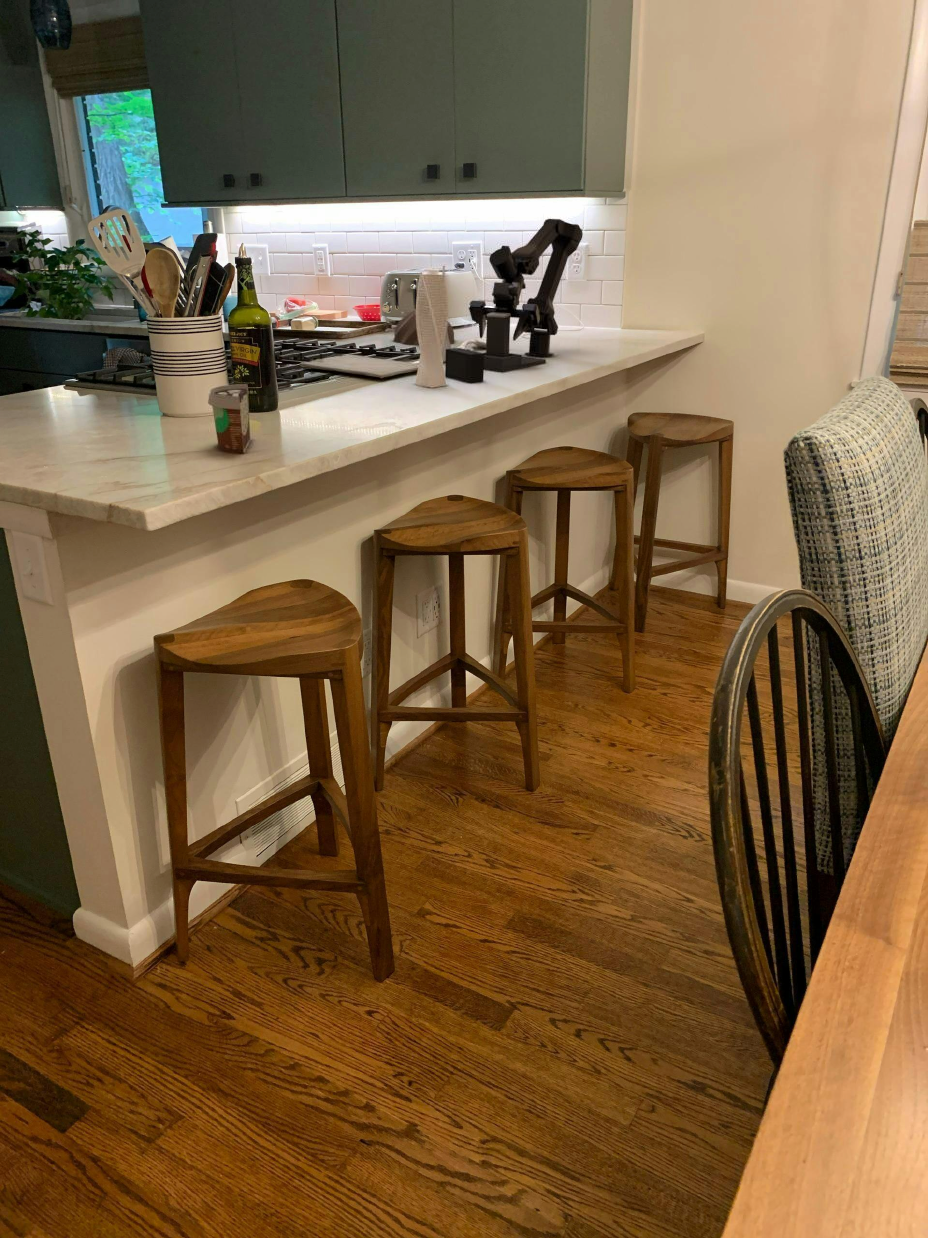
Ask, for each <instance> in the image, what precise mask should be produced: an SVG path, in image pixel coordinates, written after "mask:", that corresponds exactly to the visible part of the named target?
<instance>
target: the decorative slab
mask: <svg viewBox="0 0 928 1238" xmlns="http://www.w3.org/2000/svg"><path fill="white" fill-rule="evenodd" d="M299 366H300V367H301V368H304V369H305V368H306V369H314V370H322V371H333V372H340V373H346V374H353V375H362V376H367V377H376V378H380V379H384V378H388V377H393V376H396V375H401V374H406V373H410V372H411V373H412V372H415V371H418V366H419V363H416V362H415V363H414V362H408V361H407V362H406V361H402V360H401V361H400V360H393V359H384V358H376V357H370V356H369V357H368V356H363V355H356V354H351V353H350V354H345V355H341V356H331V357H324V358H316V359H314V360H313V361H303V362H300V363H299Z"/></svg>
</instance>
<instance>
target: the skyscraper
mask: <svg viewBox="0 0 928 1238" xmlns="http://www.w3.org/2000/svg"><path fill="white" fill-rule="evenodd" d="M418 277H419V278H418V284H417V292H416V299H415V310H416V327H417V335H418V342H419V345H418V346H419V351H420V354H419V360H418V364H419V366H418V370H416V371H417V372H416V378H415V385H416V386H421V387H426V388H431V389H432V388H438V387H444V386H445V387H446V386H447V379H446V377H445V366H444V362H443V359H442V353H441V351H442V348H443V344H444V339H445V334H446V329H447V321H449V320H448V319H449V318H448V317H449V301H448V289H447V281H446V264H445V263H444V262H443V263H442V272H440V269H436V268H426V272H423V269H420V270H419V276H418Z"/></svg>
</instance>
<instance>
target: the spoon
mask: <svg viewBox="0 0 928 1238" xmlns="http://www.w3.org/2000/svg"><path fill="white" fill-rule="evenodd" d="M468 345H475V346H477V347H481V348H485V349H486V337H482V338H478V339H476V338H472V339H467V340H465V341H464V342H463V343H461V344H460V345H459V346H458V347H457V348H462V349H466V347H467V346H468Z"/></svg>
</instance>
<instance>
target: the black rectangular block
mask: <svg viewBox="0 0 928 1238" xmlns="http://www.w3.org/2000/svg"><path fill="white" fill-rule="evenodd" d="M451 348H452V347H451ZM484 353H485V352H480V351H475V350H471V349H468V348H467V349H466V348H465V349H462V348H458V347H453V348H452V349H446V360H445V362H444V364H445V366H444V372H445V378H449V379H454V380H457V381H461V382H466V383H469V384H472V383H482V382H484V375H485V374H484V373H485V370H484Z"/></svg>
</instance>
